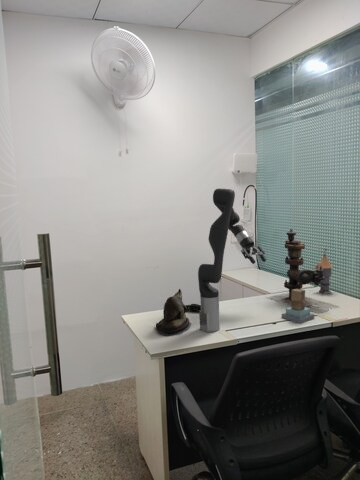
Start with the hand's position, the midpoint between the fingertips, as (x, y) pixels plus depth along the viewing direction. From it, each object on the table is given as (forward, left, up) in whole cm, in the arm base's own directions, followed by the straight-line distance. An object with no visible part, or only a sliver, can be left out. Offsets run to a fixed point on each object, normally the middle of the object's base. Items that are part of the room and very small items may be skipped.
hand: (259, 262), depth 215 cm
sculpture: (-53, +12, -29) cm, 62 cm away
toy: (-28, +29, -30) cm, 50 cm away
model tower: (+63, +1, -29) cm, 69 cm away
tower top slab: (+7, -21, -27) cm, 34 cm away
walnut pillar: (+7, -21, -24) cm, 32 cm away
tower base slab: (+7, -21, -30) cm, 37 cm away
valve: (+33, -3, -29) cm, 44 cm away
